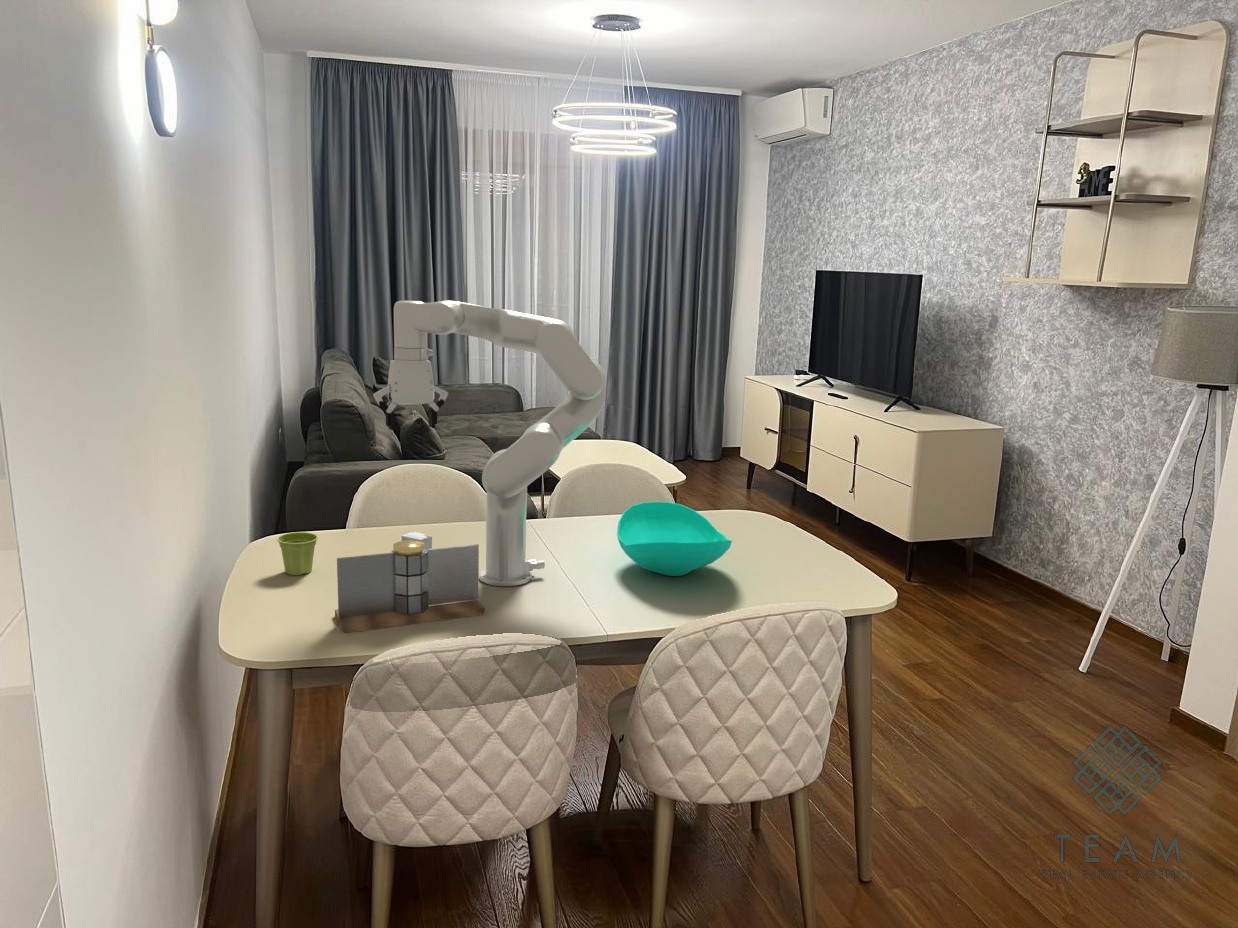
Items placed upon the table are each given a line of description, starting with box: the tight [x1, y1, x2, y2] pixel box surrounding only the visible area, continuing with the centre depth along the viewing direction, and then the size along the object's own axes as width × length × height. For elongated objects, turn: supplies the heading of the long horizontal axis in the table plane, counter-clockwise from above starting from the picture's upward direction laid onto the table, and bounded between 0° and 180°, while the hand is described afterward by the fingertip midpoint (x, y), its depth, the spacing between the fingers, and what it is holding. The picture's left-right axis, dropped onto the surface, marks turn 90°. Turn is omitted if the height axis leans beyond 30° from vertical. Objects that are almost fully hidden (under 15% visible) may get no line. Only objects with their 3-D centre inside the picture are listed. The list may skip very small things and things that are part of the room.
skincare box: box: [401, 531, 433, 551], centre depth 221 cm, size 6×4×12 cm
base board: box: [334, 599, 486, 634], centre depth 202 cm, size 30×10×2 cm, turn 116°
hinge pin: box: [392, 540, 424, 595], centre depth 201 cm, size 6×6×14 cm
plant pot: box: [276, 531, 319, 576], centre depth 227 cm, size 9×9×9 cm
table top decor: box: [616, 501, 733, 577], centre depth 237 cm, size 40×28×13 cm
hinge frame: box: [336, 548, 429, 618], centre depth 199 cm, size 19×7×13 cm, turn 116°
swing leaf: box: [394, 543, 480, 605], centre depth 203 cm, size 19×7×12 cm, turn 116°
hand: (411, 428), depth 221 cm, fingers open, 9 cm apart
